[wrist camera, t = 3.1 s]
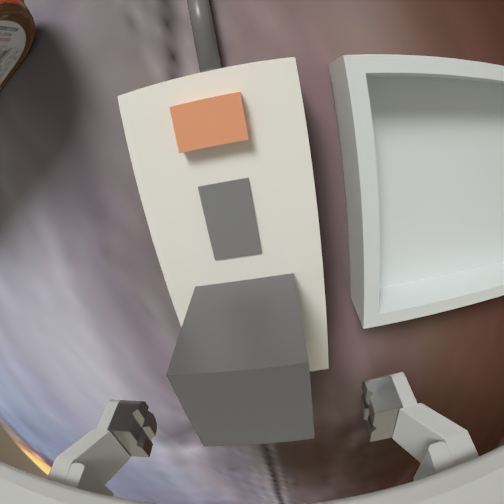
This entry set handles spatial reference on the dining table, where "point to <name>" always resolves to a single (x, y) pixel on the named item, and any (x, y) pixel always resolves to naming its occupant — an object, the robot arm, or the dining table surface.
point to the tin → (14, 36)
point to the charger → (244, 364)
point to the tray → (421, 182)
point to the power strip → (229, 178)
